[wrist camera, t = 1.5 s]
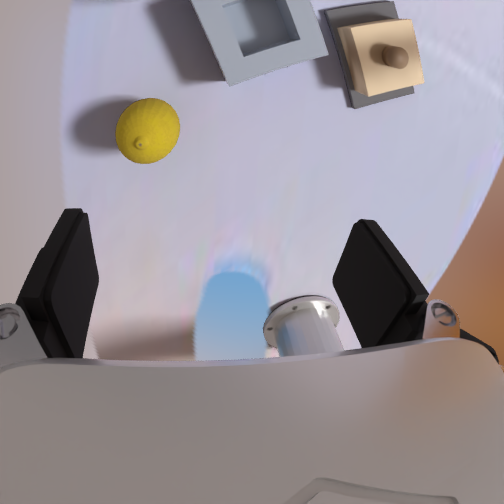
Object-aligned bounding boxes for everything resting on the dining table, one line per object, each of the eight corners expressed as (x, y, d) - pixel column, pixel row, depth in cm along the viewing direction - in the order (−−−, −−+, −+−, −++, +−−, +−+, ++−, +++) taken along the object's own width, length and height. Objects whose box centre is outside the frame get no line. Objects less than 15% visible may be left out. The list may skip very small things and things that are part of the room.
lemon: (118, 105, 26) (94, 127, 20) (171, 83, 26) (162, 97, 19) (138, 153, 29) (123, 188, 23) (189, 133, 29) (187, 163, 23)
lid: (408, 77, 27) (432, 86, 24) (354, 90, 28) (375, 99, 24) (394, 18, 23) (419, 19, 19) (337, 27, 24) (357, 28, 20)
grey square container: (313, 52, 26) (328, 55, 22) (225, 81, 26) (229, 86, 23) (283, -28, 20) (295, -36, 17) (189, 0, 21) (188, -6, 18)
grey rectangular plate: (411, 91, 29) (414, 93, 28) (352, 107, 30) (354, 109, 29) (390, 1, 22) (393, 1, 22) (324, 11, 23) (326, 10, 22)
